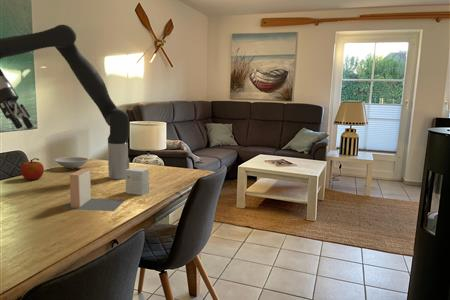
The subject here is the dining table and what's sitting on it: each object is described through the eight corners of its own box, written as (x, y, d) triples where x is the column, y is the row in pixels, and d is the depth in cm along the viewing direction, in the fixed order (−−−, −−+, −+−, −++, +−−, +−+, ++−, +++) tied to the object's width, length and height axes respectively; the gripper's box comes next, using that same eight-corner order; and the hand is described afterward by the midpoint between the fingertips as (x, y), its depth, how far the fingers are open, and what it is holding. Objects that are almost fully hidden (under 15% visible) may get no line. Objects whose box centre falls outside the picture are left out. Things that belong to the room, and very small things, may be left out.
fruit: (28, 176, 168) (27, 155, 167) (48, 176, 168) (47, 156, 166) (16, 181, 159) (15, 159, 157) (37, 181, 159) (35, 160, 157)
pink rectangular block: (70, 207, 124) (69, 174, 122) (83, 199, 134) (82, 168, 132) (79, 208, 124) (78, 175, 122) (91, 199, 133) (90, 169, 132)
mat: (62, 210, 122) (61, 208, 122) (78, 199, 135) (78, 197, 135) (114, 212, 122) (113, 210, 122) (125, 201, 135) (125, 199, 134)
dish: (49, 171, 180) (49, 161, 180) (62, 165, 195) (61, 156, 194) (83, 172, 180) (83, 162, 180) (93, 166, 195) (93, 157, 194)
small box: (149, 193, 147) (149, 168, 145) (142, 196, 141) (142, 171, 140) (133, 190, 149) (132, 166, 147) (125, 194, 144) (125, 169, 142)
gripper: (0, 83, 126) (25, 122, 127) (20, 88, 140) (42, 123, 142) (-18, 93, 126) (7, 133, 127) (3, 97, 140) (25, 132, 141)
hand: (25, 127), depth 134 cm, fingers open, 8 cm apart
